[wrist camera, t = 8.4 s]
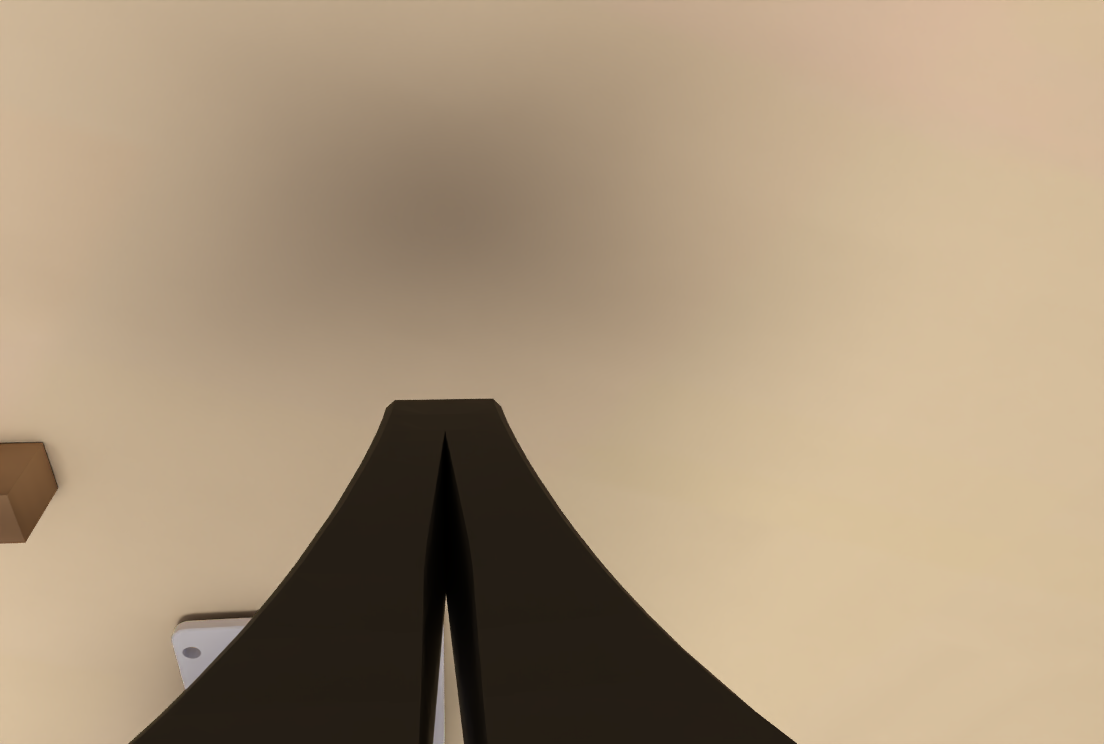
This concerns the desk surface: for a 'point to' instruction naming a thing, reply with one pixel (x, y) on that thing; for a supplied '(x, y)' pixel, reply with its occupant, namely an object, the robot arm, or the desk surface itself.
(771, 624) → the desk surface
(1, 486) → the stand
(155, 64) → the desk surface
